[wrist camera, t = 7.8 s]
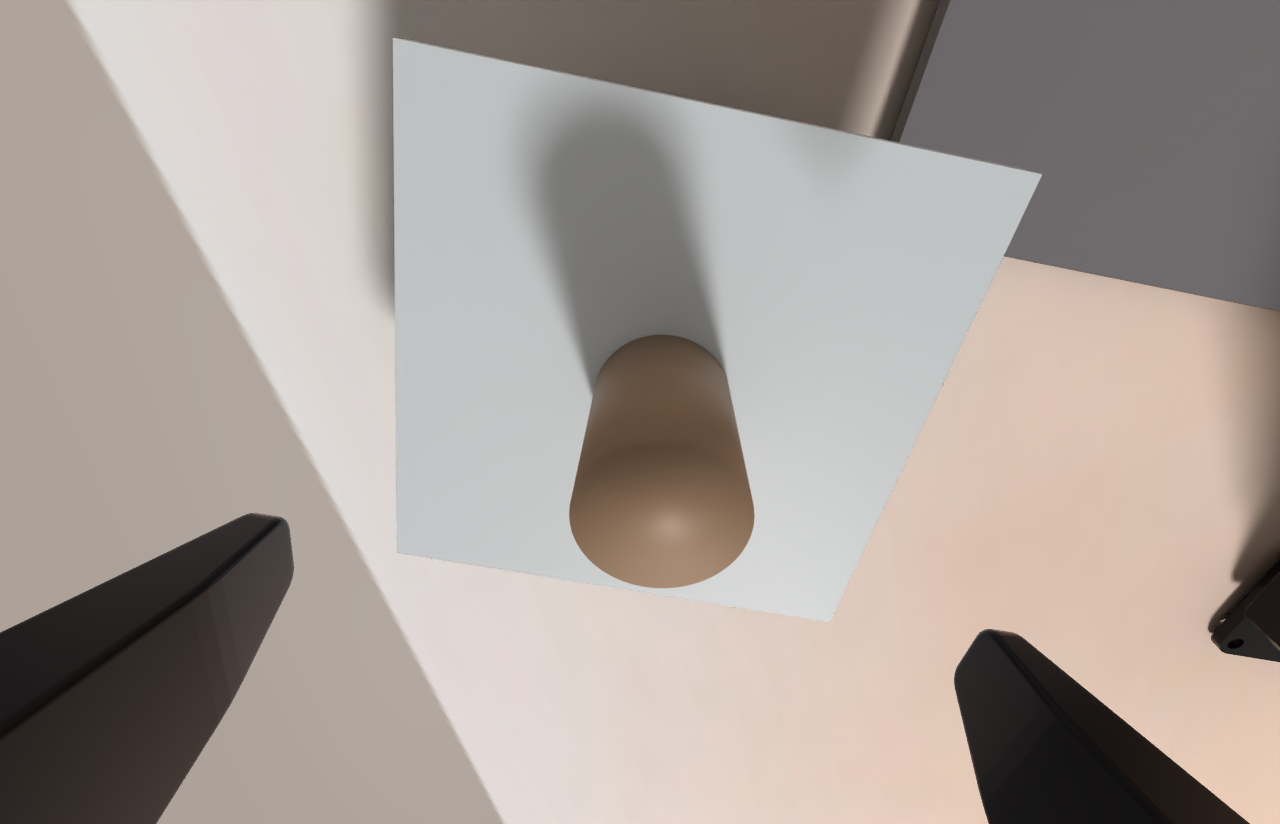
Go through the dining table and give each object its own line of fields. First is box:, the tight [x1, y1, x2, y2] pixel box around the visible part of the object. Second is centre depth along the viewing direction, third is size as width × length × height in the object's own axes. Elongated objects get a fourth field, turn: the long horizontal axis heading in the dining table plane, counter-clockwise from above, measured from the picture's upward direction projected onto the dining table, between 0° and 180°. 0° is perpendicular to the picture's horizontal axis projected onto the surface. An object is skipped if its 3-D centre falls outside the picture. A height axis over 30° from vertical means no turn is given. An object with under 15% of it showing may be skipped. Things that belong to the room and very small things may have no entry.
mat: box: [891, 0, 1280, 311], centre depth 13 cm, size 13×11×1 cm
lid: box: [393, 38, 1042, 622], centre depth 11 cm, size 11×11×5 cm
